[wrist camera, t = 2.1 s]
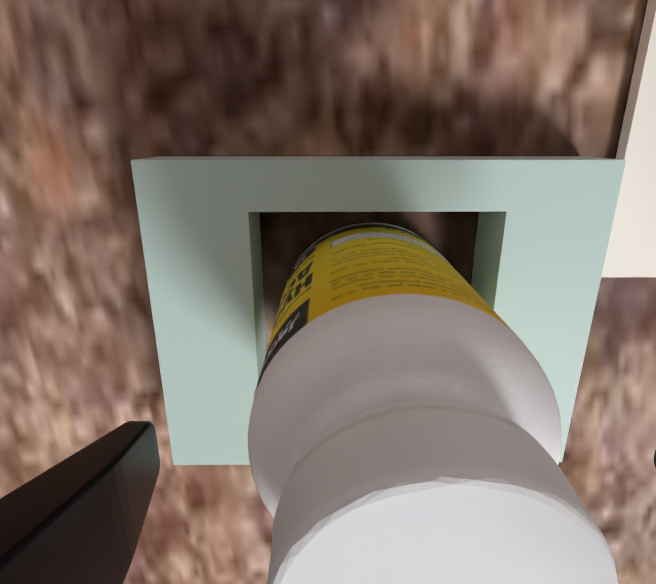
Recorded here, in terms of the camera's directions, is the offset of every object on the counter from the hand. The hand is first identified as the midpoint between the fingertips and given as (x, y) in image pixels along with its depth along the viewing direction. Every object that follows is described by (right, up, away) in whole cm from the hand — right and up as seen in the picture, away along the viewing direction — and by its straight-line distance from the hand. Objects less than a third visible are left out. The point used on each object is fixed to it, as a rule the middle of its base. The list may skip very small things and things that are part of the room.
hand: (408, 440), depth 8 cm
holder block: (0, +2, +6) cm, 7 cm away
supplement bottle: (0, +2, +7) cm, 7 cm away
